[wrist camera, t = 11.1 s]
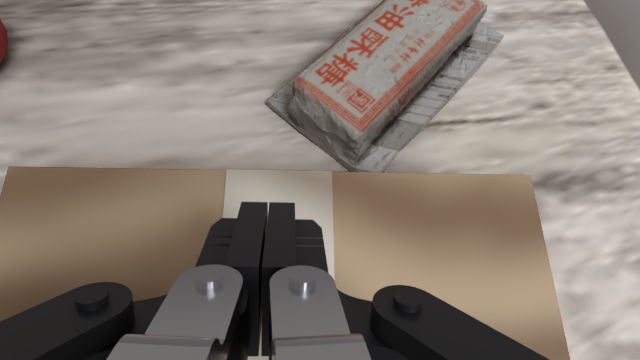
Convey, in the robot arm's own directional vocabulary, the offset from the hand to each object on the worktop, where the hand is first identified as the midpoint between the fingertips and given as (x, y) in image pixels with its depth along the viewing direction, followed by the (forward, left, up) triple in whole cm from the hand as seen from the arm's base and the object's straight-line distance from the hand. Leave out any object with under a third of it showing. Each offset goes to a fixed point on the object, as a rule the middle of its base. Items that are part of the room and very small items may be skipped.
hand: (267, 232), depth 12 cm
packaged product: (+20, +2, -16) cm, 26 cm away
